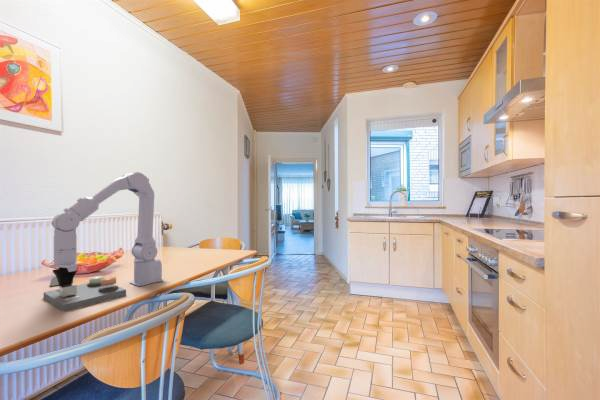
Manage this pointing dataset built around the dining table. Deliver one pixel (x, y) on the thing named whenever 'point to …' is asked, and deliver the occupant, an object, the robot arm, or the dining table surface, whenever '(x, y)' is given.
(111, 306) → the dining table surface
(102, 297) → the control panel
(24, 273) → the dining table surface
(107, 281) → the terracotta button
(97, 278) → the sage button
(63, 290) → the slider knob
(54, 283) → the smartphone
